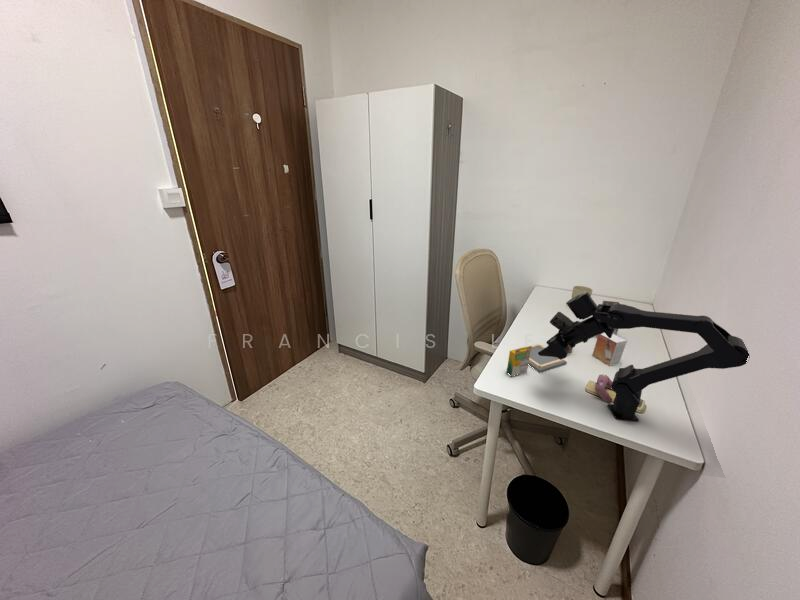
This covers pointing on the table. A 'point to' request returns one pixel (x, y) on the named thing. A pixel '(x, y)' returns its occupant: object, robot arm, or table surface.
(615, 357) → the small box
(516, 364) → the crayon box
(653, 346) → the table surface
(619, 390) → the robot arm
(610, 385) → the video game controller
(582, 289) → the mug
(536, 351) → the baseplate
